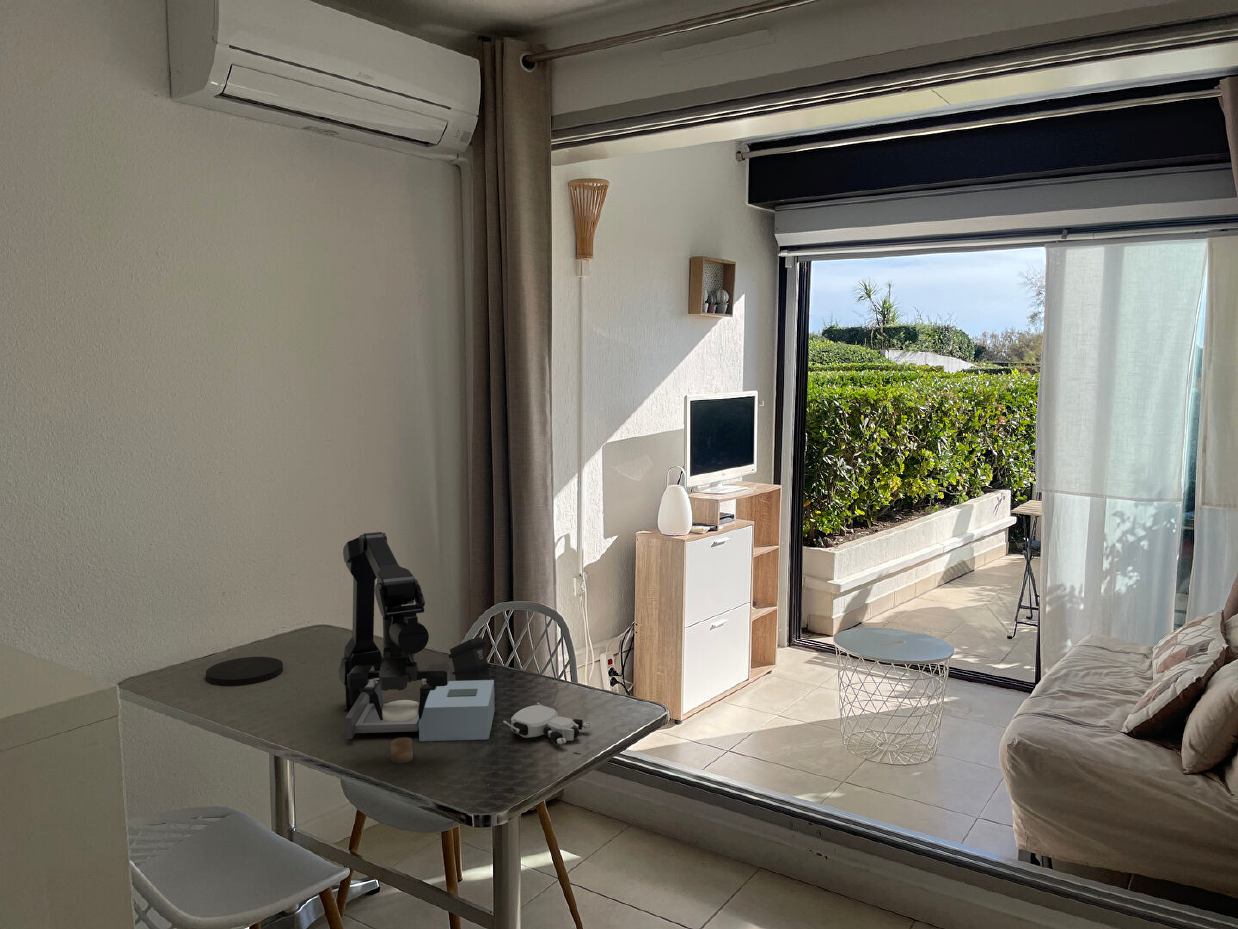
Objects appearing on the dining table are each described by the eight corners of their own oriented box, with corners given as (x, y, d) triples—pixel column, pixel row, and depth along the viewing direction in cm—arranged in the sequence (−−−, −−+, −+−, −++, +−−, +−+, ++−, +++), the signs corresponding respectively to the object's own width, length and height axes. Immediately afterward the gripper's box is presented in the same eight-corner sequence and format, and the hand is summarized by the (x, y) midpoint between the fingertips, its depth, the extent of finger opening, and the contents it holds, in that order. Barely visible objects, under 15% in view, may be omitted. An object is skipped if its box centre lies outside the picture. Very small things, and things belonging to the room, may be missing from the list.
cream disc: (379, 721, 175) (378, 713, 175) (386, 708, 182) (385, 700, 182) (416, 720, 175) (416, 712, 175) (422, 707, 182) (421, 699, 182)
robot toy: (593, 737, 193) (534, 718, 200) (594, 716, 192) (535, 698, 199) (561, 758, 182) (499, 738, 189) (562, 736, 181) (500, 717, 189)
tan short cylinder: (389, 763, 178) (389, 746, 177) (393, 755, 182) (392, 737, 181) (410, 763, 178) (410, 745, 177) (414, 754, 182) (413, 737, 181)
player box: (419, 741, 188) (418, 707, 188) (430, 712, 204) (429, 680, 203) (488, 739, 189) (488, 705, 188) (494, 710, 205) (493, 679, 204)
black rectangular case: (486, 705, 203) (469, 639, 207) (459, 715, 213) (443, 652, 217) (501, 701, 206) (484, 636, 209) (473, 711, 216) (457, 648, 219)
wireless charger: (298, 671, 234) (297, 664, 234) (235, 692, 219) (235, 684, 219) (253, 660, 243) (253, 652, 243) (190, 679, 228) (190, 671, 228)
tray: (345, 738, 187) (345, 718, 186) (364, 708, 204) (363, 689, 203) (415, 736, 187) (415, 716, 187) (428, 706, 205) (427, 687, 204)
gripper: (338, 654, 169) (342, 737, 170) (442, 651, 170) (444, 733, 171) (352, 636, 180) (355, 714, 181) (449, 634, 181) (451, 712, 182)
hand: (401, 719), depth 179 cm, fingers closed on cream disc, 7 cm apart
